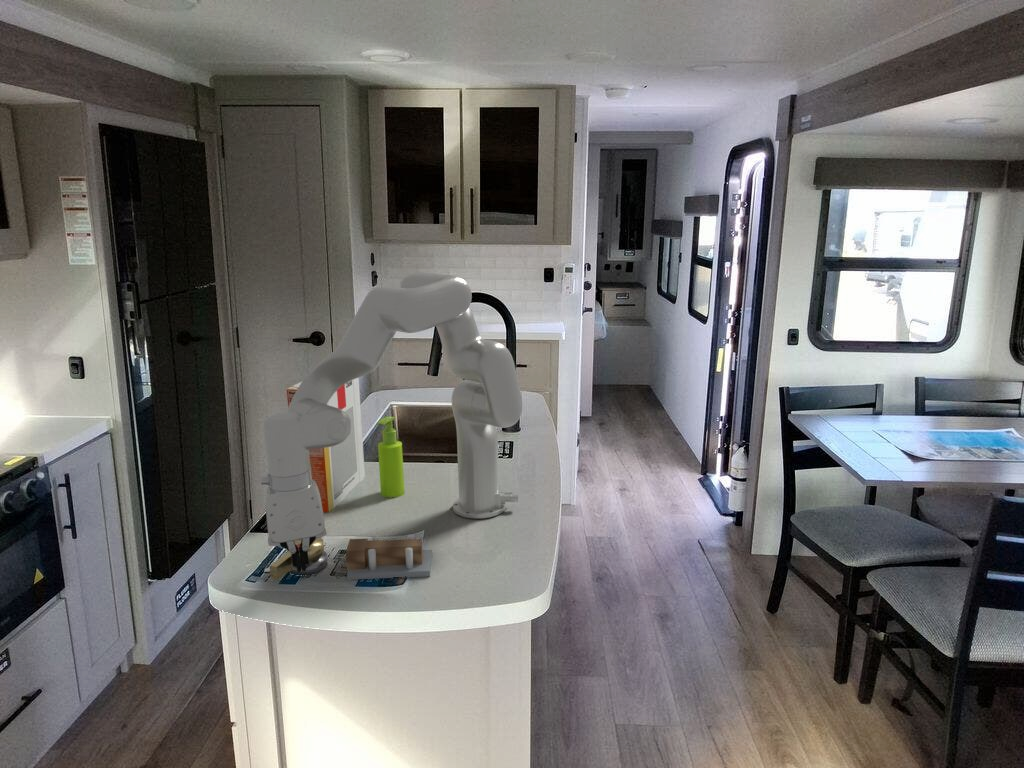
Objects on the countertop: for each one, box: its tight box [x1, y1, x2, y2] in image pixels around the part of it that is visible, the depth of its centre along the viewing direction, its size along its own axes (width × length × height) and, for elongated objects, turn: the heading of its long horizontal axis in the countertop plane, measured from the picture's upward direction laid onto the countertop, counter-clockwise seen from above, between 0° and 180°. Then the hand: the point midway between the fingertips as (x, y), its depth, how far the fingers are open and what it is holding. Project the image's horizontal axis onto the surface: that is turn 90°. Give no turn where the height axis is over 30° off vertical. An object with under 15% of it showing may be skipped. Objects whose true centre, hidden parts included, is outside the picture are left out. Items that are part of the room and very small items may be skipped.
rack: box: [346, 534, 433, 581], centre depth 144 cm, size 16×9×5 cm, turn 93°
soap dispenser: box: [376, 415, 405, 498], centre depth 180 cm, size 6×7×20 cm
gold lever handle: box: [268, 537, 325, 581], centre depth 141 cm, size 14×7×3 cm, turn 162°
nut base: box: [263, 550, 329, 577], centre depth 145 cm, size 12×8×2 cm, turn 93°
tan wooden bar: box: [345, 537, 424, 571], centre depth 144 cm, size 15×5×4 cm, turn 93°
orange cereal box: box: [286, 377, 366, 513], centre depth 180 cm, size 23×8×30 cm, turn 170°
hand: (301, 568), depth 138 cm, fingers closed
